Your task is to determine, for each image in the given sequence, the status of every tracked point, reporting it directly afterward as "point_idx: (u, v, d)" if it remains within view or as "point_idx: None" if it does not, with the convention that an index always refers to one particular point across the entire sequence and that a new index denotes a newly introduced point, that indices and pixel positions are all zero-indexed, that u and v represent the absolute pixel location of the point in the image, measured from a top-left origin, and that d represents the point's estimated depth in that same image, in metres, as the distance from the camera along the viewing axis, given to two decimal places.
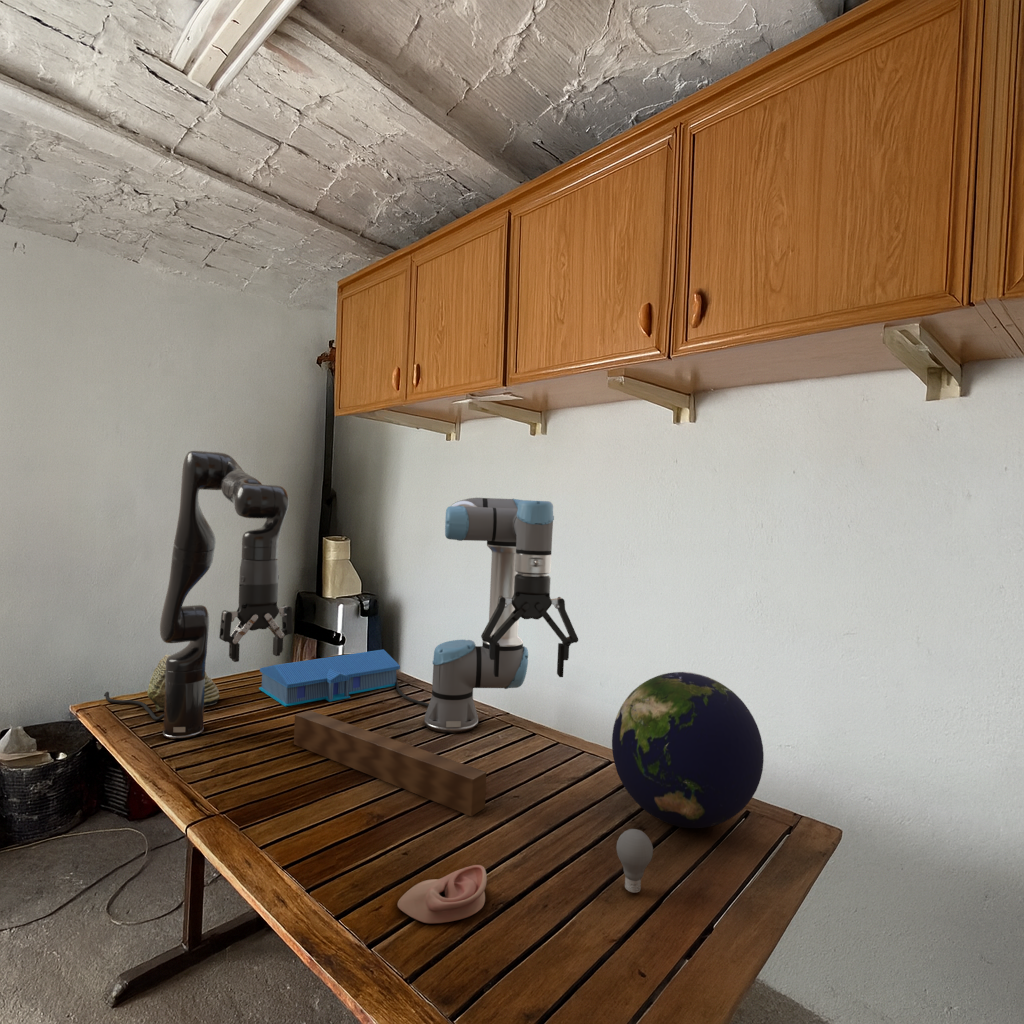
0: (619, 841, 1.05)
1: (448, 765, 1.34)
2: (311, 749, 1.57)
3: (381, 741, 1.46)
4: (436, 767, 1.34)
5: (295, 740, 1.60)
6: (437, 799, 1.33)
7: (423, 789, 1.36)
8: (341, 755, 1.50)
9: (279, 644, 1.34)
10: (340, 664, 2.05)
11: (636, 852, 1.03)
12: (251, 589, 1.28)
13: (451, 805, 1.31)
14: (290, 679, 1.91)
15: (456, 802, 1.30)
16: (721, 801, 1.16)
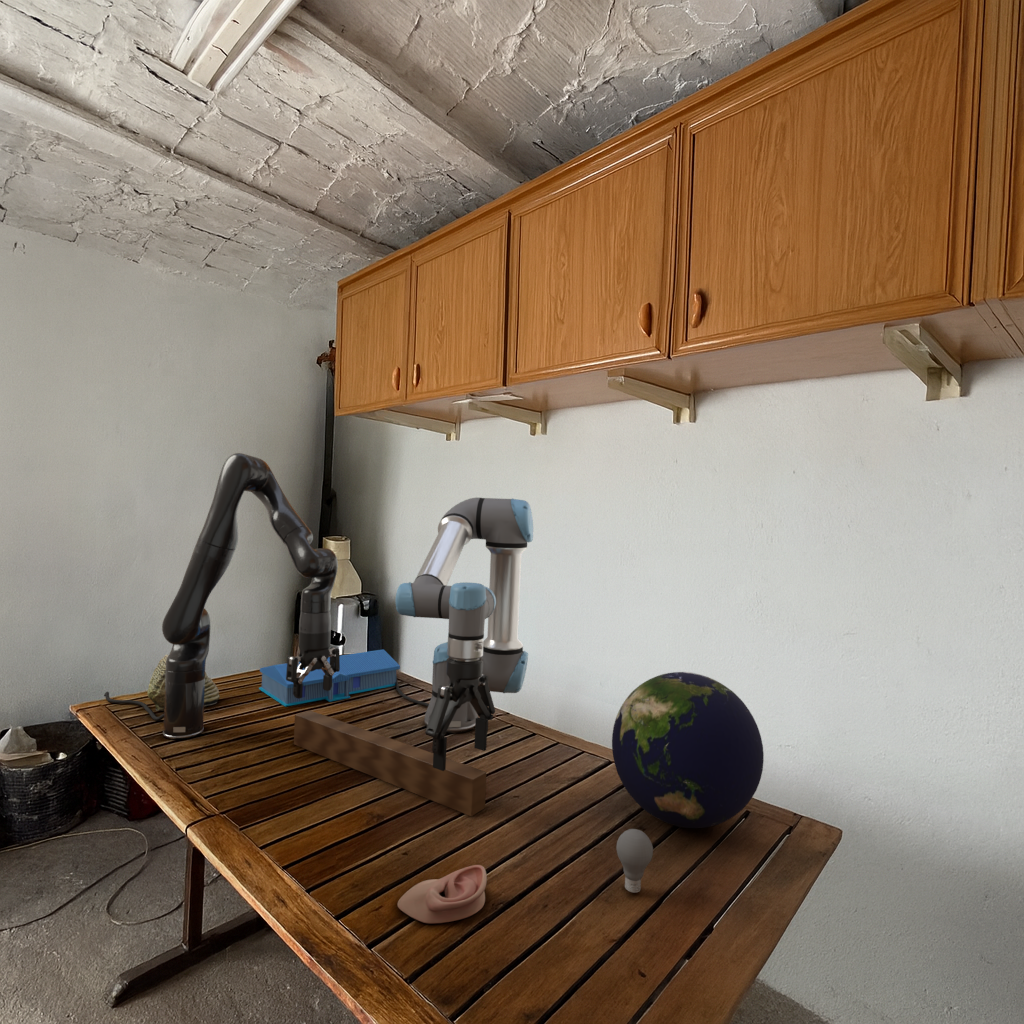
0: (619, 841, 1.05)
1: (448, 765, 1.34)
2: (311, 749, 1.57)
3: (381, 741, 1.46)
4: None
5: (295, 740, 1.60)
6: (437, 799, 1.33)
7: (423, 789, 1.36)
8: (341, 755, 1.50)
9: None
10: (340, 664, 2.05)
11: (636, 852, 1.03)
12: None
13: (451, 805, 1.31)
14: None
15: (456, 802, 1.30)
16: (721, 801, 1.16)
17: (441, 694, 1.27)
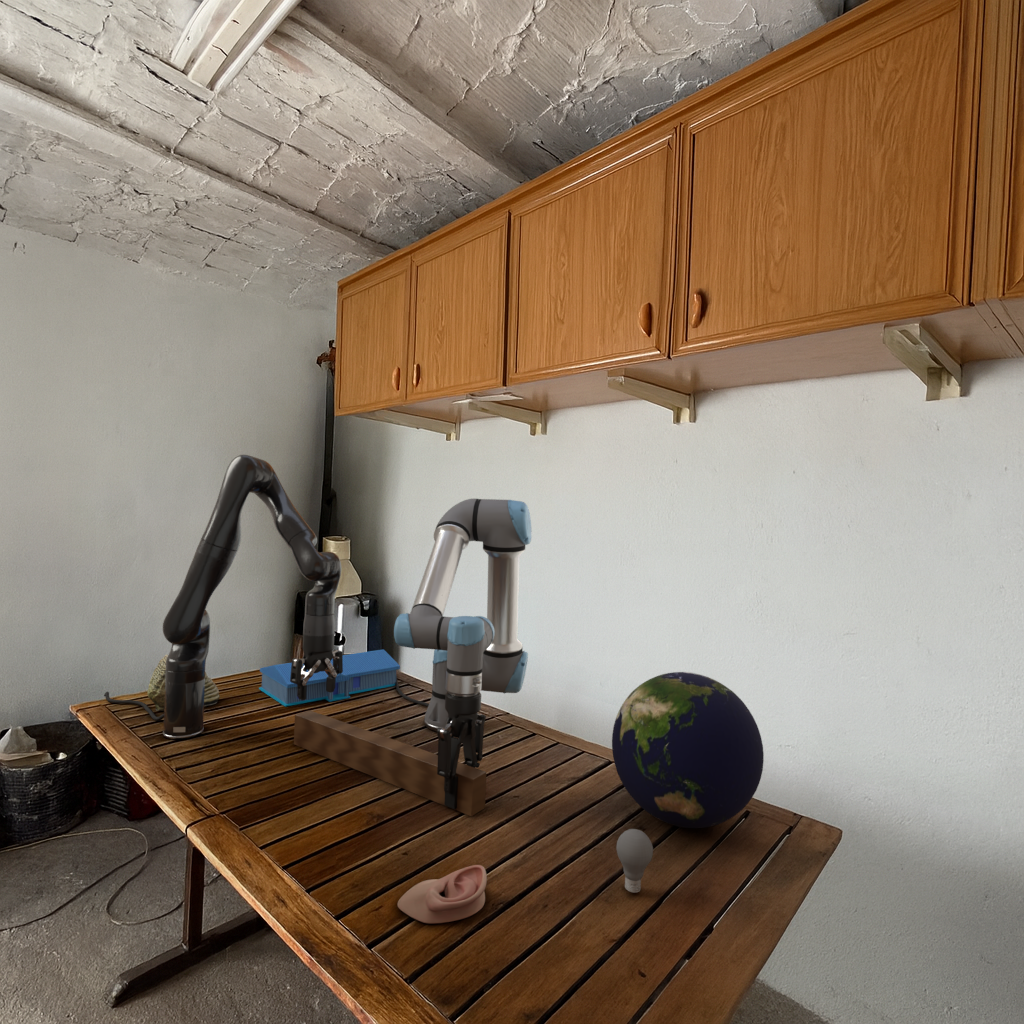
0: (619, 841, 1.05)
1: None
2: (311, 748, 1.57)
3: (381, 741, 1.46)
4: (436, 767, 1.34)
5: (295, 740, 1.60)
6: (437, 799, 1.33)
7: (423, 789, 1.36)
8: (341, 755, 1.50)
9: None
10: None
11: (636, 852, 1.03)
12: None
13: None
14: None
15: None
16: (721, 801, 1.16)
17: (441, 737, 1.28)
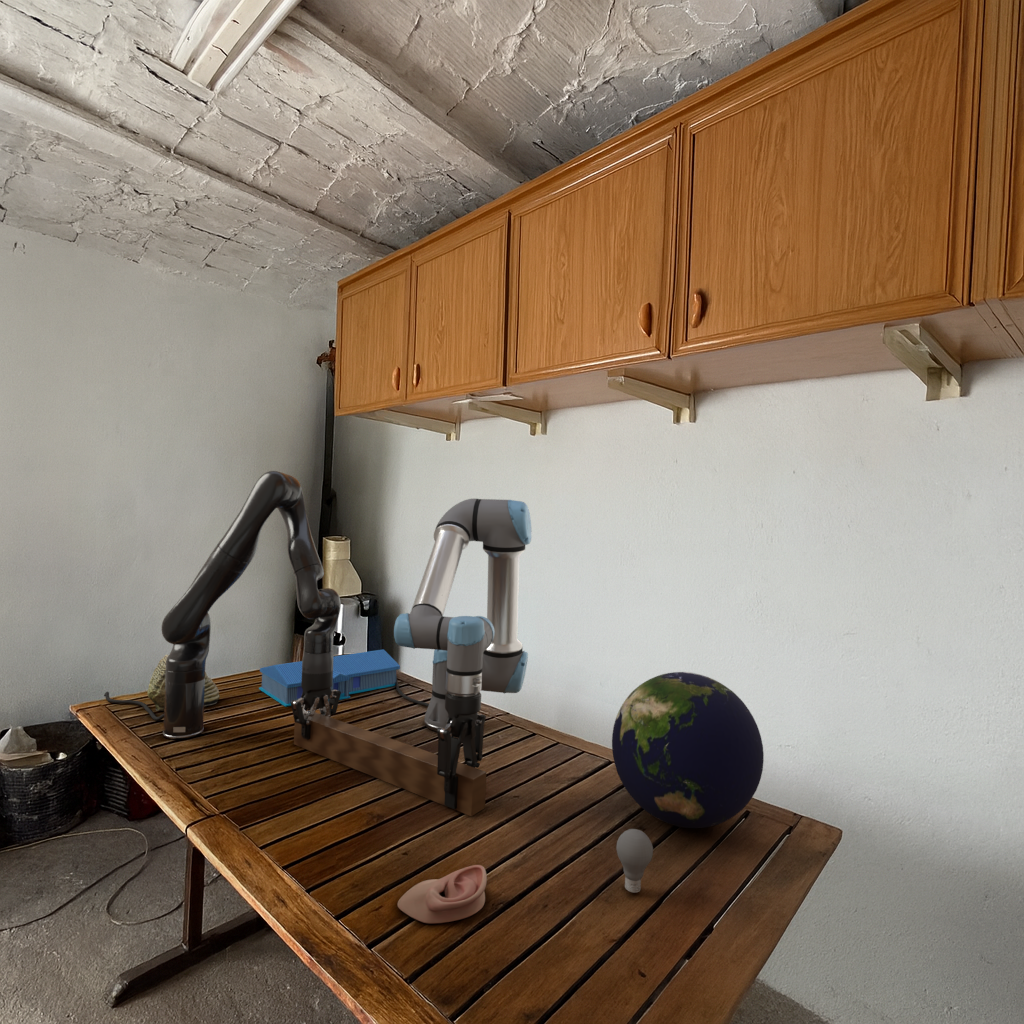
0: (619, 841, 1.05)
1: None
2: (311, 748, 1.57)
3: (381, 741, 1.46)
4: (436, 767, 1.34)
5: (295, 740, 1.60)
6: (437, 799, 1.33)
7: (423, 789, 1.36)
8: (341, 755, 1.50)
9: None
10: (340, 664, 2.05)
11: (636, 852, 1.03)
12: None
13: None
14: (290, 679, 1.91)
15: None
16: (721, 801, 1.16)
17: (441, 737, 1.28)
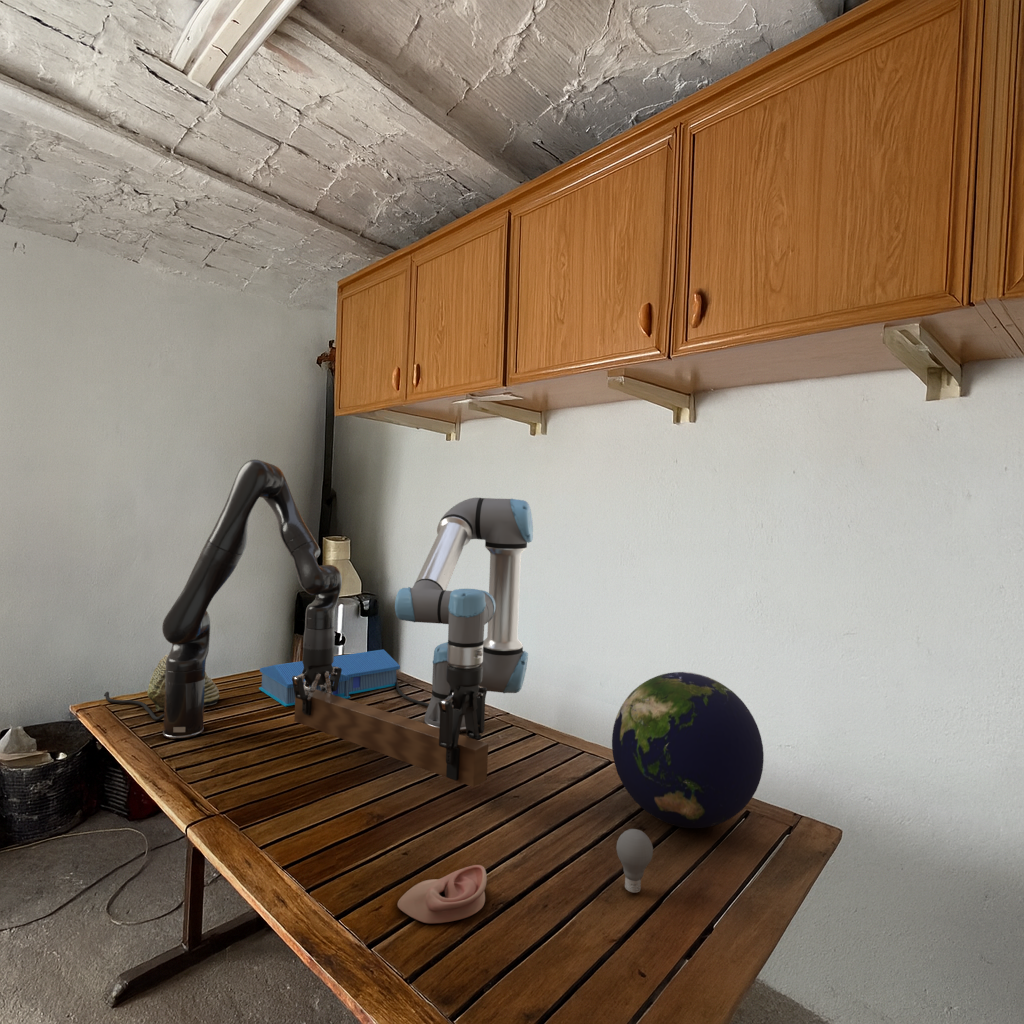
0: (619, 841, 1.05)
1: None
2: (311, 725, 1.57)
3: (383, 715, 1.46)
4: (438, 739, 1.34)
5: (295, 716, 1.60)
6: (439, 771, 1.33)
7: (425, 761, 1.36)
8: (342, 730, 1.50)
9: None
10: (340, 664, 2.05)
11: (636, 852, 1.03)
12: None
13: None
14: (290, 679, 1.91)
15: None
16: (721, 801, 1.16)
17: (443, 708, 1.28)
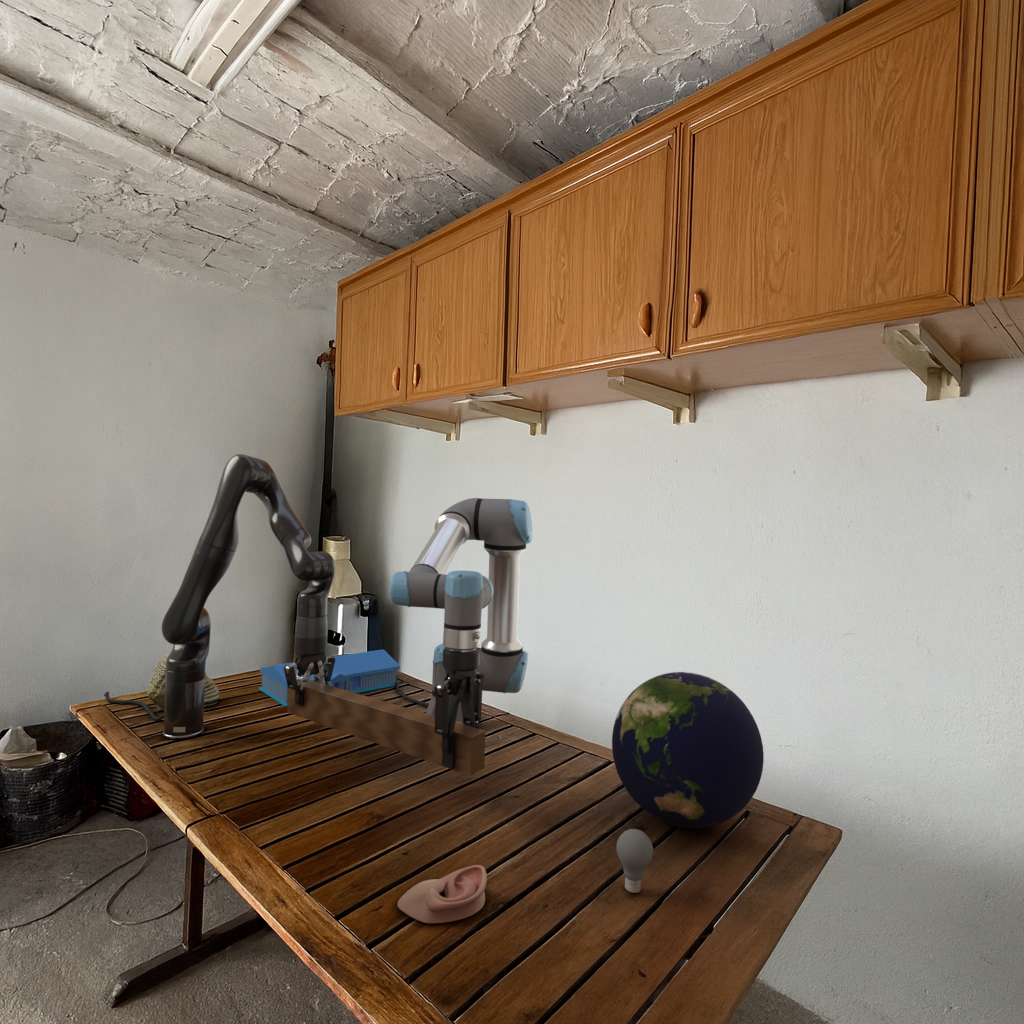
0: (619, 841, 1.05)
1: None
2: (304, 716, 1.52)
3: (377, 704, 1.41)
4: (433, 727, 1.29)
5: (288, 707, 1.56)
6: (435, 760, 1.29)
7: (420, 750, 1.31)
8: (336, 720, 1.46)
9: None
10: (340, 664, 2.05)
11: (636, 852, 1.03)
12: None
13: None
14: None
15: None
16: (721, 801, 1.16)
17: (439, 693, 1.23)
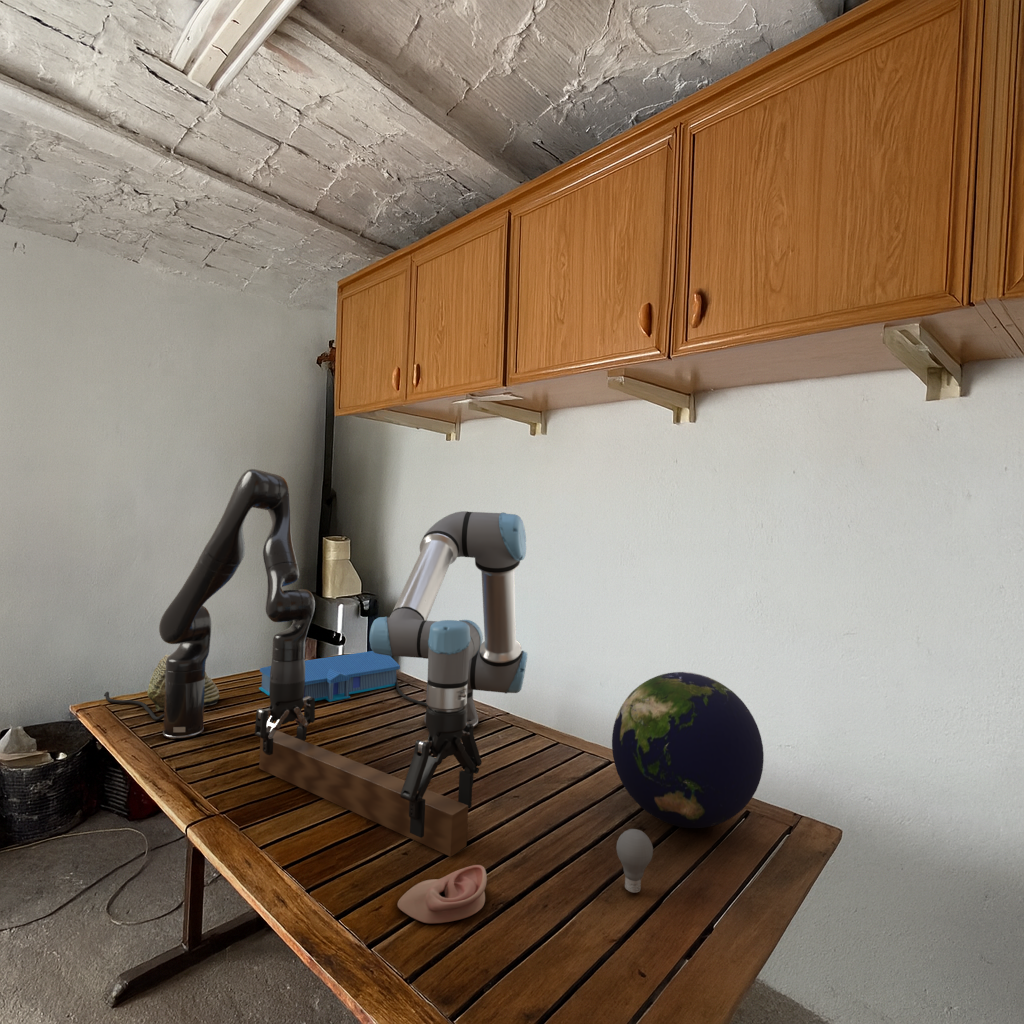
0: (619, 841, 1.05)
1: (425, 797, 1.19)
2: (277, 774, 1.42)
3: (353, 768, 1.31)
4: None
5: (260, 764, 1.46)
6: (413, 836, 1.19)
7: (398, 824, 1.21)
8: (310, 782, 1.36)
9: None
10: (340, 664, 2.05)
11: (636, 852, 1.03)
12: None
13: (428, 843, 1.16)
14: None
15: (434, 840, 1.16)
16: (721, 801, 1.16)
17: (418, 750, 1.12)
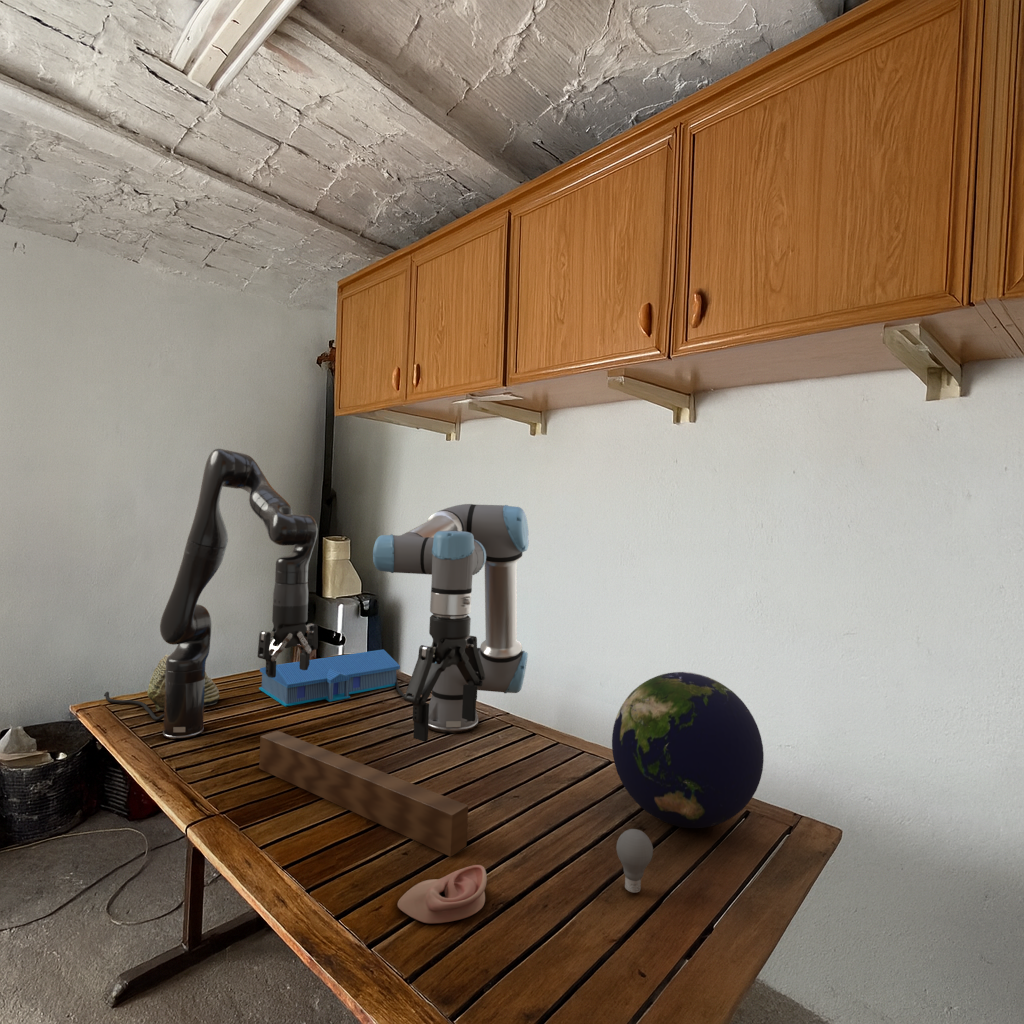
0: (619, 841, 1.05)
1: (425, 797, 1.19)
2: (277, 774, 1.42)
3: (353, 768, 1.31)
4: (412, 800, 1.19)
5: (260, 764, 1.46)
6: (413, 836, 1.19)
7: (398, 824, 1.21)
8: (310, 782, 1.36)
9: None
10: (340, 664, 2.05)
11: (636, 852, 1.03)
12: None
13: (428, 843, 1.16)
14: (290, 679, 1.91)
15: (434, 840, 1.16)
16: (721, 801, 1.16)
17: (422, 655, 1.11)
